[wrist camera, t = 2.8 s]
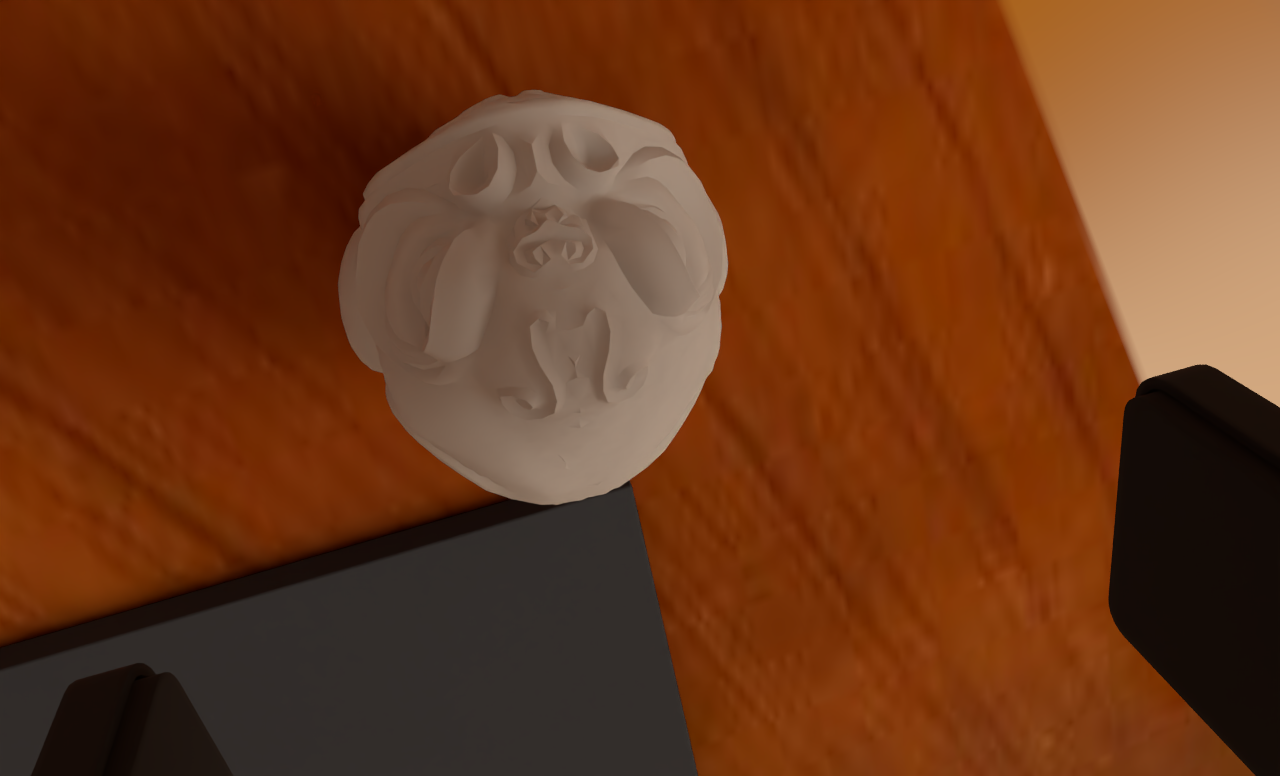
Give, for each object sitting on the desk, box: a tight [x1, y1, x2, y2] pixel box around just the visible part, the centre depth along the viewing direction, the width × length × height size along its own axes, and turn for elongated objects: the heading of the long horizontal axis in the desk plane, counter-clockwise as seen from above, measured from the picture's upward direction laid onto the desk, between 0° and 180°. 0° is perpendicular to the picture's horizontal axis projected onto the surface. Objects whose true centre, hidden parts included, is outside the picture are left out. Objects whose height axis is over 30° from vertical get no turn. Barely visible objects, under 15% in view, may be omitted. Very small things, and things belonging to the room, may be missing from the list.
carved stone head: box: [338, 90, 728, 505], centre depth 16 cm, size 6×7×7 cm
